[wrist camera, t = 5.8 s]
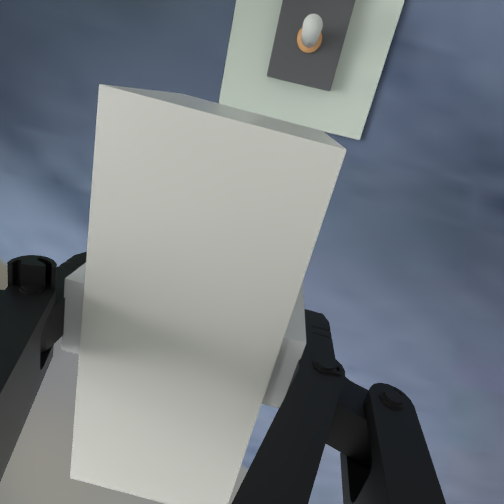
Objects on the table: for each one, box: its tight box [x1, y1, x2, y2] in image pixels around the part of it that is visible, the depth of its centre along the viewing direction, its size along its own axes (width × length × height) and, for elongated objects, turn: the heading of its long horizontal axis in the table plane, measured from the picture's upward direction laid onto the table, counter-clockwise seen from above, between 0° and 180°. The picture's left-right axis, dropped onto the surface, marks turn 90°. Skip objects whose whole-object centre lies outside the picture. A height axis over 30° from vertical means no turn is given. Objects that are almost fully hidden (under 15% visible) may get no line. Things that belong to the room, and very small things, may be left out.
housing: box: [70, 84, 346, 504], centre depth 14 cm, size 14×6×7 cm, turn 166°
